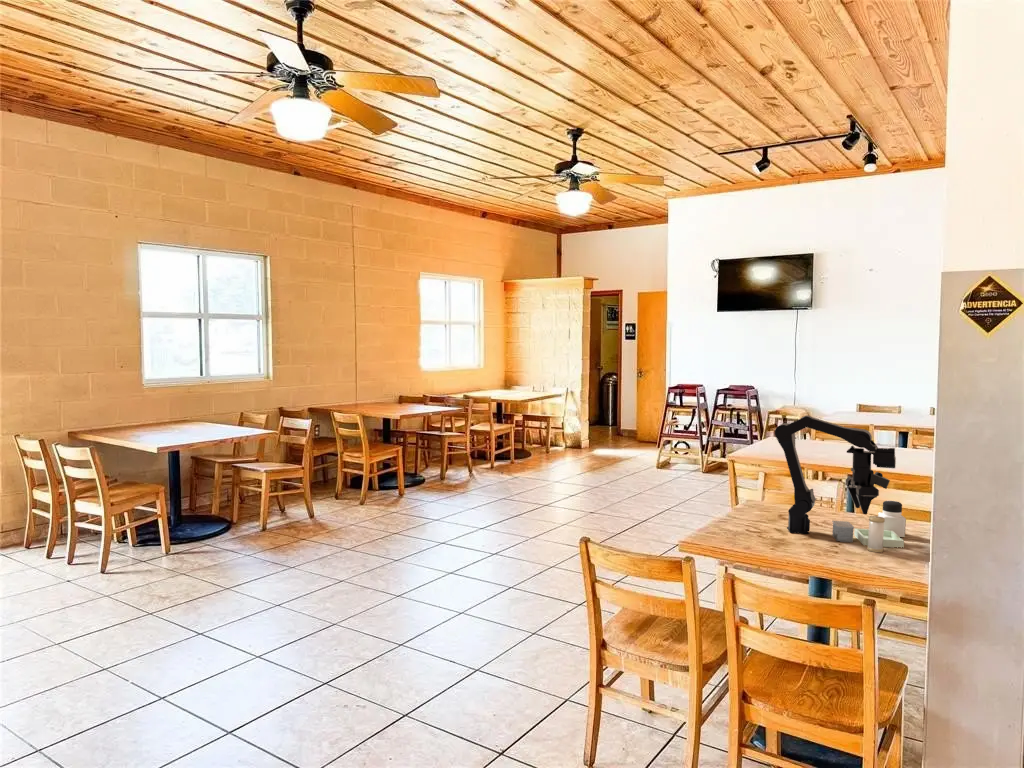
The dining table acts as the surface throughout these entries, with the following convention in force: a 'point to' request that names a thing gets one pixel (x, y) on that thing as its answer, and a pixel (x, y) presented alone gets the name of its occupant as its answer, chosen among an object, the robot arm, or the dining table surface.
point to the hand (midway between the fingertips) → (861, 511)
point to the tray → (888, 539)
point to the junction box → (843, 531)
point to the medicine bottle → (893, 517)
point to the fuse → (876, 534)
